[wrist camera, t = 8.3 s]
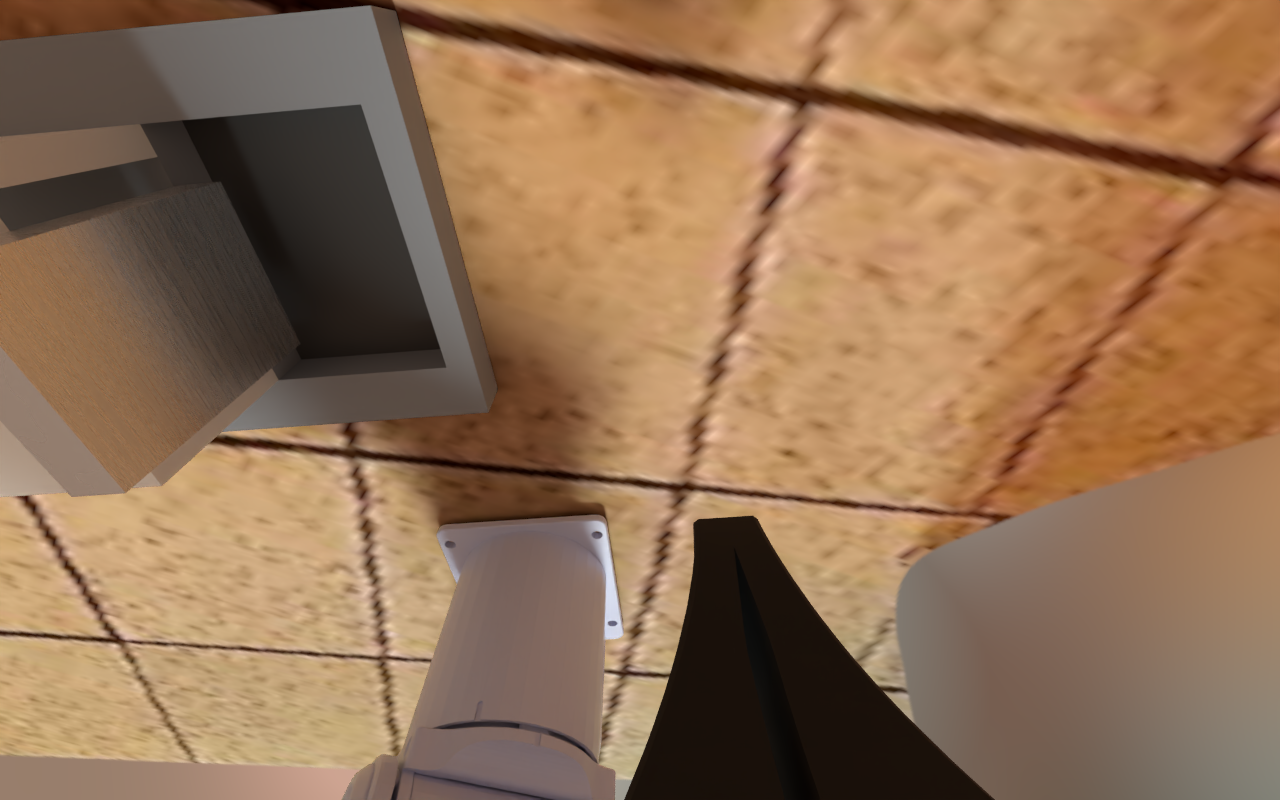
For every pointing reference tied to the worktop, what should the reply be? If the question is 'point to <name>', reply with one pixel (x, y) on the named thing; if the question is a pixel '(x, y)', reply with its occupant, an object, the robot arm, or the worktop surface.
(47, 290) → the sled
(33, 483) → the tunnel
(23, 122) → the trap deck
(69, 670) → the worktop surface
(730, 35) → the worktop surface
